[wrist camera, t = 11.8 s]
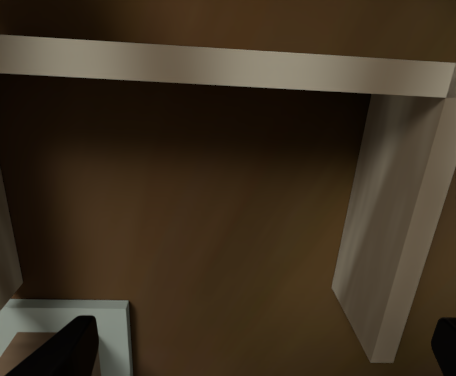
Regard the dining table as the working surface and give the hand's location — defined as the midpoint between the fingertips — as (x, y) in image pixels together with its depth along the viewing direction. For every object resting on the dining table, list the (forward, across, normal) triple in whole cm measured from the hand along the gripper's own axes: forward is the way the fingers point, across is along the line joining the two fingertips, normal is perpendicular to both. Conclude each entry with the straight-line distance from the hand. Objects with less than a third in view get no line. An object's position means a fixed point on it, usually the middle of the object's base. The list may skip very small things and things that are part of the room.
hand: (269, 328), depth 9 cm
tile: (+11, +12, +13) cm, 21 cm away
